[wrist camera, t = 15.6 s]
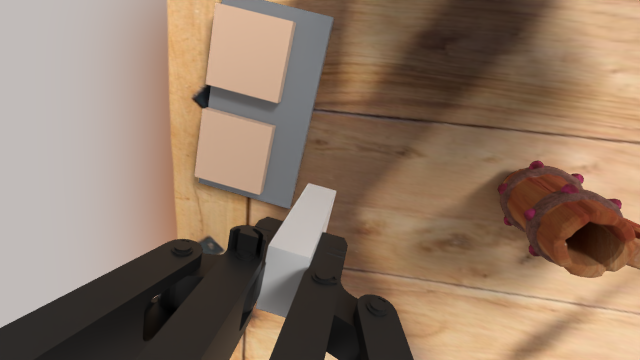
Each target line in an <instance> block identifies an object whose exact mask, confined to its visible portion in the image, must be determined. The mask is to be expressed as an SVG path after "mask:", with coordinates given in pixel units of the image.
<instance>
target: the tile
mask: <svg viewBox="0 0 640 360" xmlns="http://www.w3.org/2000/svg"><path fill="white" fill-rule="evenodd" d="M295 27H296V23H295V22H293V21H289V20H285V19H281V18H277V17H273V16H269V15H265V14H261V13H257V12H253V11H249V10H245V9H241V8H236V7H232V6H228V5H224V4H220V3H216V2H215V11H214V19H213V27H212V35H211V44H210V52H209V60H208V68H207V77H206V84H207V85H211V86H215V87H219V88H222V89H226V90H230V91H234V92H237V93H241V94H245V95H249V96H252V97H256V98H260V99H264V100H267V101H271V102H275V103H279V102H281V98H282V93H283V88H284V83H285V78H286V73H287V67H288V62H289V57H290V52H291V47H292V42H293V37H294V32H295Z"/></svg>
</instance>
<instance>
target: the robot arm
mask: <svg viewBox="0 0 640 360" xmlns="http://www.w3.org/2000/svg"><path fill="white" fill-rule="evenodd" d="M335 195H336V191H335V190H332V189H328V188H324V187H321V186H317V185H314V184H310V183H308V185H307V186H306V188H305V189H304V191H303V192H302V194H301V196H300V197H299V199H298V200H297V202H296V203H295V205H294V206H293V208H292V210H291V211H290V213H289V214H288V216H287V217H286V219H285V220H284V221H280V220H277V219H274V218H270V217H266V218H264V219H261V220H259V221H258V223H257V224H256V225H255V227H254V226H249V225H240V226H236V227H234V228H232V229H231V230H230V235H229V242H228V248H227V251H226V252H225V253H224V254H222V255H212V254H202V251H203V249H202V247H201V245H200V244H198V243H197V242H195V241H192V240H188V239H177V240H172V241H170V242H167V243H165V244H163V245H161V246H159V247H158V248H156V249H154V250H151V251H150V252H148V253H146V254H144V255H142V256H140V257H138V258H136V259H134V260H132V261H130V262H128V263H126V264H124V265H122V266H120V267H118V268H116V269H114V270H113V271H111V272H109V273H107V274H105V275H103V276H101V277H99V278H97V279H95V280H93V281H91V282H89V283H88V284H85V285H83V286H81V287H79V288H77V289H76V290H74V291H72V292H70V293H68V294H66V295H64V296H62V297H60V298H58V299H56V300H54V301H52V302H50V303H48V304H46V305H45V306H42V307H40V308H39V309H37V310H35V311H33V312H31V313H29V314H27V315H25V316H23V317H21V318H19V319H17V320H15V321H13V322H11V323H9V324H7V325H5V326H3V327H2V328H0V360H229V359H230V357H231V356H232V354H233V352H234V350H235V348H236V346H237V344H238V342H239V340H240V338H241V336H242V335H243V333H244V331H245V329H246V327H247V325H248V323H249V321H250V319H251V316H252V312H253V307H254V305H255V303H256V301H257V299H258V301H257V306H256V308H257V309H260V310H263V311H266V312H270V313H273V314H276V315H279V316H282V317H285V318H286V319H285V322H284V324H283V327H282V329H281V332H280V334H279V337H278V339H277V342H276V344H275V347H274V349H273V352H272V354H271V357H270V359H269V360H324V359H325V354H326V352H328V353H329V354H331V355H332V356H334V357H335V358H337V359H338V360H414V359H413V356H412V354H411V351H410V348H409V345H408V342H407V339H406V337H405V334H404V331H403V328H402V325H401V323H400V320H399V317H398V314H397V311H396V310H395V308H394V306H393V305H392V304H391V303H390V302H389V301H388V300H386V299H384V298H382V297H380V296H376V295H367V294H366V295H363V296H361V297H360V298H359V299H357V298H355V297H354V296H352V295H351V294H349V293H348V292H347V291H346V290H345V289H344V288H343V286H342V284H341V274H342V270H343V265H344V260H345V256H346V251H347V246H348V245H347V243H346V241H345V239H344V238H342V237H338V236H335V235H332V234H328V233H326V230H327V226H328V222H329V218H330V214H331V210H332V207H333V203H334V199H335ZM157 295H158V296H157ZM155 296H157V297H155ZM154 297H155V298H154ZM153 298H154V299H153Z"/></svg>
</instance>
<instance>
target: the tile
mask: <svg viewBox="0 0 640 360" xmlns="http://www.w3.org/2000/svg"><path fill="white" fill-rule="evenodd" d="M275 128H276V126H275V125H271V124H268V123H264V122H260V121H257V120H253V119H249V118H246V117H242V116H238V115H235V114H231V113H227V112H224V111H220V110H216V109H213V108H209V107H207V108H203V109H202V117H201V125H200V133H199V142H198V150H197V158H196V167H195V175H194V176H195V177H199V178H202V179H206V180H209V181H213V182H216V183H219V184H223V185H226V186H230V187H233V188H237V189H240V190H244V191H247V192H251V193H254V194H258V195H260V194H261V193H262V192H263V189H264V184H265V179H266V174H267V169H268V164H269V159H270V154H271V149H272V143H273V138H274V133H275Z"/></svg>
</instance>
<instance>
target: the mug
mask: <svg viewBox="0 0 640 360" xmlns="http://www.w3.org/2000/svg"><path fill="white" fill-rule="evenodd" d="M583 181H584V178H583V176H582V175H580V174H577V173H576V174H572V175H570V174H568V173H566V172H564V171H562V170H560V169H557V168H554V167H550V166H544V165H543V163H542V162H541V161H534V162H532V163H531V164H530V166H529V168H526V169H520V170H518V171H516V172H514V173H512V174H510V175H509V176H508V177H507V178H506V179H505V180H504V182H503V184H501V185H499V186H498V189H497V190H498V191H499V193H500V197H501V207H502V210H503V212H504V214H505V217H504V223H505V224H506V225H509V226H511V225H514V226H515V227H517V228H518V229H520V230H522V231H524V232H526V234H527V238H528V240H529V242H530V246H529V252H530V253H531V254H532V255H533V256H542V257H544V258H545V259H547V260H548V261H550V262H552V263H555V264H557V265H559V266H561V267H564V268H565V269H566V270H567V271H568V272H569V273H570V274H573V275H577V276H580V277H587V278H595V277H599V276H602V274H603V273H604V272H605V271H613V272H615V271H617V270H619V269H621V268H622V267H624V266H625V265H628V266H631V267H634V268H637V269H640V225H639V224H637V223H634V222H632V221H630V220H628V219H625V218H623V216H622V213H621V212H620V209H621V205H622V203H621V201H620V200H618V199H605V198H604V197H602V196H600V195H598V194H596V193H594V192H591V191H588V190H583V188H582V186H581V184H582V183H583Z"/></svg>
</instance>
